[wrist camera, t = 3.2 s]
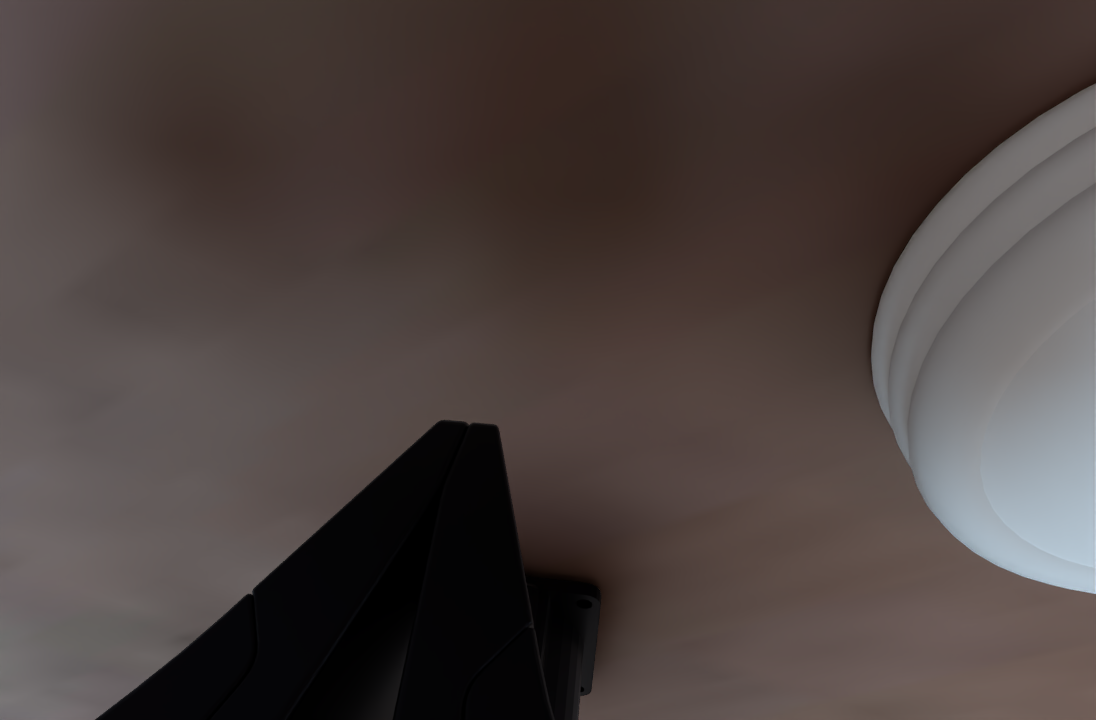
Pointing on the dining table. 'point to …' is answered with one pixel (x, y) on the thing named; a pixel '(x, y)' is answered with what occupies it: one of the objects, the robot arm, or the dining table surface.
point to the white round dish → (1004, 351)
